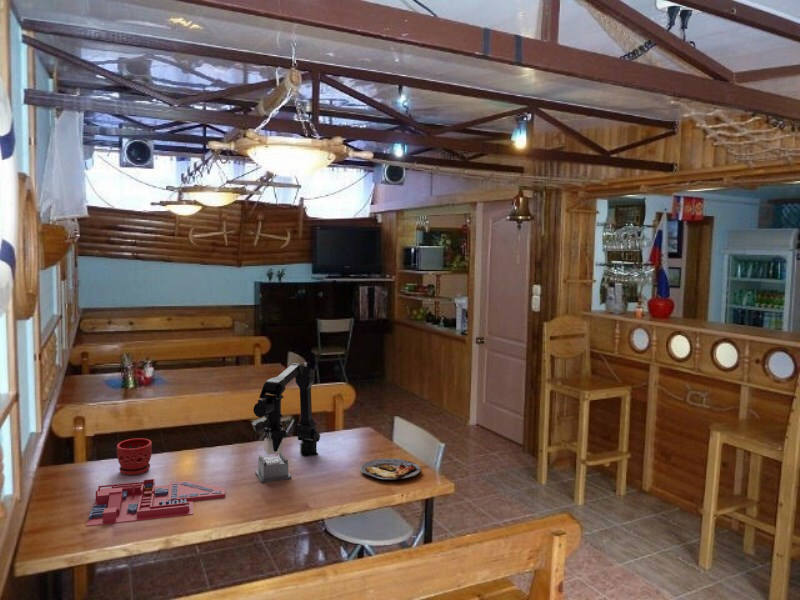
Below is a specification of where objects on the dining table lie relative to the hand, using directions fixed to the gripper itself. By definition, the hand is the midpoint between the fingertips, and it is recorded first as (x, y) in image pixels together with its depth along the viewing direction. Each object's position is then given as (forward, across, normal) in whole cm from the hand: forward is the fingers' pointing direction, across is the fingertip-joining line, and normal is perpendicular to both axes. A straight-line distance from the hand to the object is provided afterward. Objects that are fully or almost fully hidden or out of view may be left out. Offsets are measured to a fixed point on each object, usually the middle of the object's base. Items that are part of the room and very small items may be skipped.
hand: (273, 449), depth 248 cm
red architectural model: (+12, +10, -43) cm, 46 cm away
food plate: (+11, +14, +46) cm, 49 cm away
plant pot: (+11, -25, -51) cm, 58 cm away
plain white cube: (+1, 0, 0) cm, 1 cm away
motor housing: (+11, 0, 0) cm, 11 cm away
